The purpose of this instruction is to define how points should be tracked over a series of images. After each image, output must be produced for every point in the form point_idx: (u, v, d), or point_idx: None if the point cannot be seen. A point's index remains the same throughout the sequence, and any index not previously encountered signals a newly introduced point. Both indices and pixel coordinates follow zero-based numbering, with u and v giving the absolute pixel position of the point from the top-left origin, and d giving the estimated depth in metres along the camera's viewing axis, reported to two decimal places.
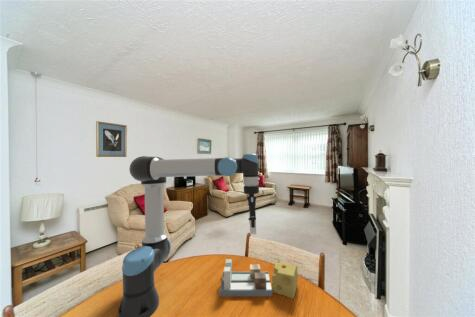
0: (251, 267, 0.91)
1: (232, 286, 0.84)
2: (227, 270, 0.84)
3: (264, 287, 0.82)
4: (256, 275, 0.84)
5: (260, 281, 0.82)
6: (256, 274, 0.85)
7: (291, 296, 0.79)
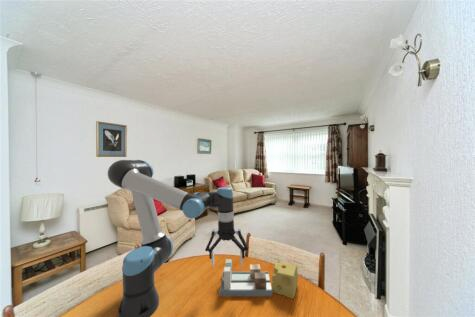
0: (251, 267, 0.91)
1: (232, 286, 0.84)
2: (227, 270, 0.84)
3: (264, 287, 0.82)
4: (256, 275, 0.84)
5: (260, 281, 0.82)
6: (256, 274, 0.85)
7: (291, 296, 0.79)
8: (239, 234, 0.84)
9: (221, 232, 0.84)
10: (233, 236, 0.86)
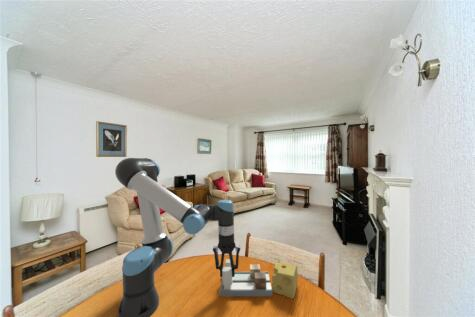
0: (251, 267, 0.91)
1: (232, 286, 0.84)
2: (227, 270, 0.84)
3: (264, 287, 0.82)
4: (256, 275, 0.84)
5: (260, 281, 0.82)
6: (256, 274, 0.85)
7: (291, 296, 0.79)
8: (238, 251, 0.84)
9: (221, 244, 0.84)
10: None
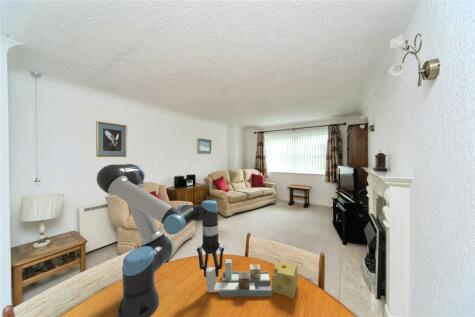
0: (251, 267, 0.91)
1: (216, 286, 0.85)
2: (210, 270, 0.84)
3: (247, 287, 0.82)
4: (240, 275, 0.84)
5: (243, 281, 0.82)
6: (240, 274, 0.85)
7: (291, 296, 0.79)
8: (221, 251, 0.84)
9: (205, 245, 0.84)
10: None
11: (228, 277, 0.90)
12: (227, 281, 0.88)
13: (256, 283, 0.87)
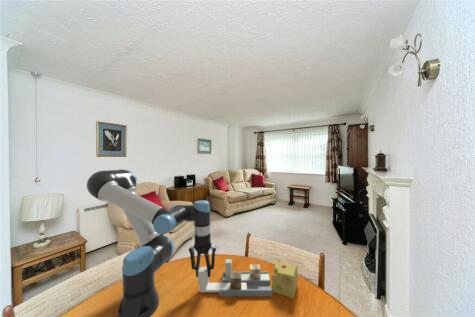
0: (251, 267, 0.91)
1: (208, 286, 0.85)
2: (202, 270, 0.84)
3: (239, 287, 0.82)
4: (232, 275, 0.84)
5: (235, 281, 0.82)
6: (232, 274, 0.85)
7: (291, 296, 0.79)
8: (213, 251, 0.84)
9: (197, 245, 0.84)
10: (207, 251, 0.86)
11: (228, 277, 0.90)
12: (227, 281, 0.88)
13: (256, 283, 0.87)
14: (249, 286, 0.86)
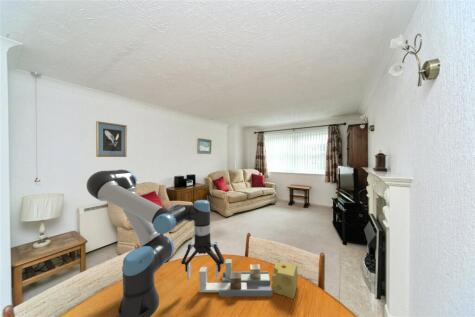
0: (251, 267, 0.91)
1: (208, 286, 0.85)
2: (202, 270, 0.84)
3: (239, 287, 0.82)
4: (232, 275, 0.84)
5: (235, 281, 0.82)
6: (232, 274, 0.85)
7: (291, 296, 0.79)
8: (215, 248, 0.84)
9: (197, 245, 0.84)
10: (210, 249, 0.86)
11: (228, 277, 0.90)
12: (227, 281, 0.88)
13: (256, 283, 0.87)
14: (249, 286, 0.86)
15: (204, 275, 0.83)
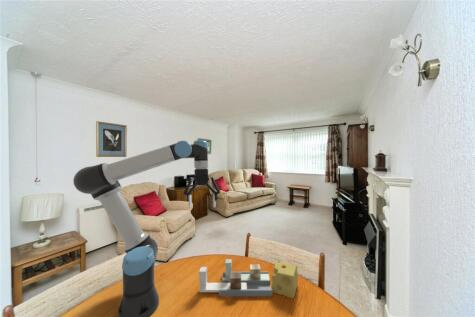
0: (251, 267, 0.91)
1: (208, 286, 0.85)
2: (202, 270, 0.84)
3: (239, 287, 0.82)
4: (232, 275, 0.84)
5: (235, 281, 0.82)
6: (232, 274, 0.85)
7: (291, 296, 0.79)
8: (212, 180, 0.97)
9: (197, 178, 0.98)
10: (208, 183, 1.00)
11: (228, 277, 0.90)
12: (227, 281, 0.88)
13: (256, 283, 0.87)
14: (249, 286, 0.86)
15: (204, 275, 0.83)
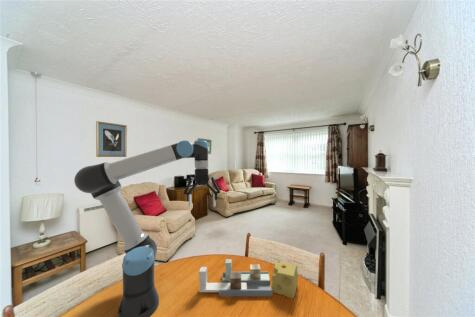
0: (251, 267, 0.91)
1: (208, 286, 0.85)
2: (202, 270, 0.84)
3: (239, 287, 0.82)
4: (232, 275, 0.84)
5: (235, 281, 0.82)
6: (232, 274, 0.85)
7: (291, 296, 0.79)
8: (212, 179, 0.98)
9: (197, 178, 0.99)
10: (208, 182, 1.01)
11: (228, 277, 0.90)
12: (227, 281, 0.88)
13: (256, 283, 0.87)
14: (249, 286, 0.86)
15: (204, 275, 0.83)
